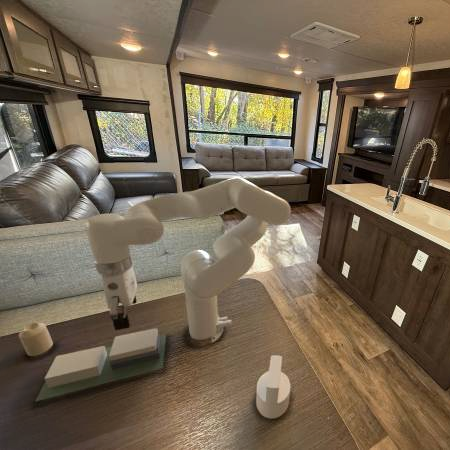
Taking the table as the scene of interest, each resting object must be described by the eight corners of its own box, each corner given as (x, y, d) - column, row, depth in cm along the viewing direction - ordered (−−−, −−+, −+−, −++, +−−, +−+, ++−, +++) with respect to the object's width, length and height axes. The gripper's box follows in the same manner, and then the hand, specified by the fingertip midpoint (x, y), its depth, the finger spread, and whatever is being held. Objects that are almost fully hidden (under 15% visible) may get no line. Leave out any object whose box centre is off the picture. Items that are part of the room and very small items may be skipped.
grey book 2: (161, 343, 79) (160, 338, 78) (159, 358, 75) (158, 353, 74) (116, 353, 75) (115, 348, 74) (111, 370, 70) (110, 364, 69)
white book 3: (158, 332, 78) (157, 327, 77) (155, 350, 72) (154, 345, 71) (116, 341, 74) (115, 336, 73) (110, 361, 68) (108, 356, 67)
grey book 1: (160, 338, 78) (159, 333, 78) (158, 353, 74) (157, 347, 73) (115, 348, 74) (113, 343, 73) (110, 364, 69) (108, 359, 68)
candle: (38, 361, 72) (26, 336, 68) (23, 356, 73) (11, 331, 69) (59, 346, 77) (49, 321, 73) (44, 342, 78) (34, 317, 74)
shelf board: (166, 337, 83) (165, 334, 83) (163, 371, 72) (162, 368, 72) (59, 361, 73) (58, 357, 72) (36, 405, 62) (34, 401, 61)
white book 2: (107, 354, 74) (106, 349, 74) (100, 375, 68) (98, 370, 68) (60, 364, 70) (58, 360, 69) (48, 388, 64) (46, 383, 63)
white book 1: (106, 349, 74) (104, 345, 73) (98, 370, 68) (97, 366, 67) (58, 360, 69) (56, 356, 69) (46, 383, 63) (44, 379, 63)
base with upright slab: (259, 382, 72) (260, 353, 67) (290, 385, 72) (293, 356, 67) (253, 416, 64) (253, 386, 59) (287, 420, 64) (291, 389, 59)
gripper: (124, 280, 56) (137, 335, 63) (138, 245, 70) (146, 293, 77) (83, 285, 53) (100, 343, 60) (106, 247, 68) (118, 297, 74)
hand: (126, 315), depth 68 cm, fingers open, 9 cm apart
